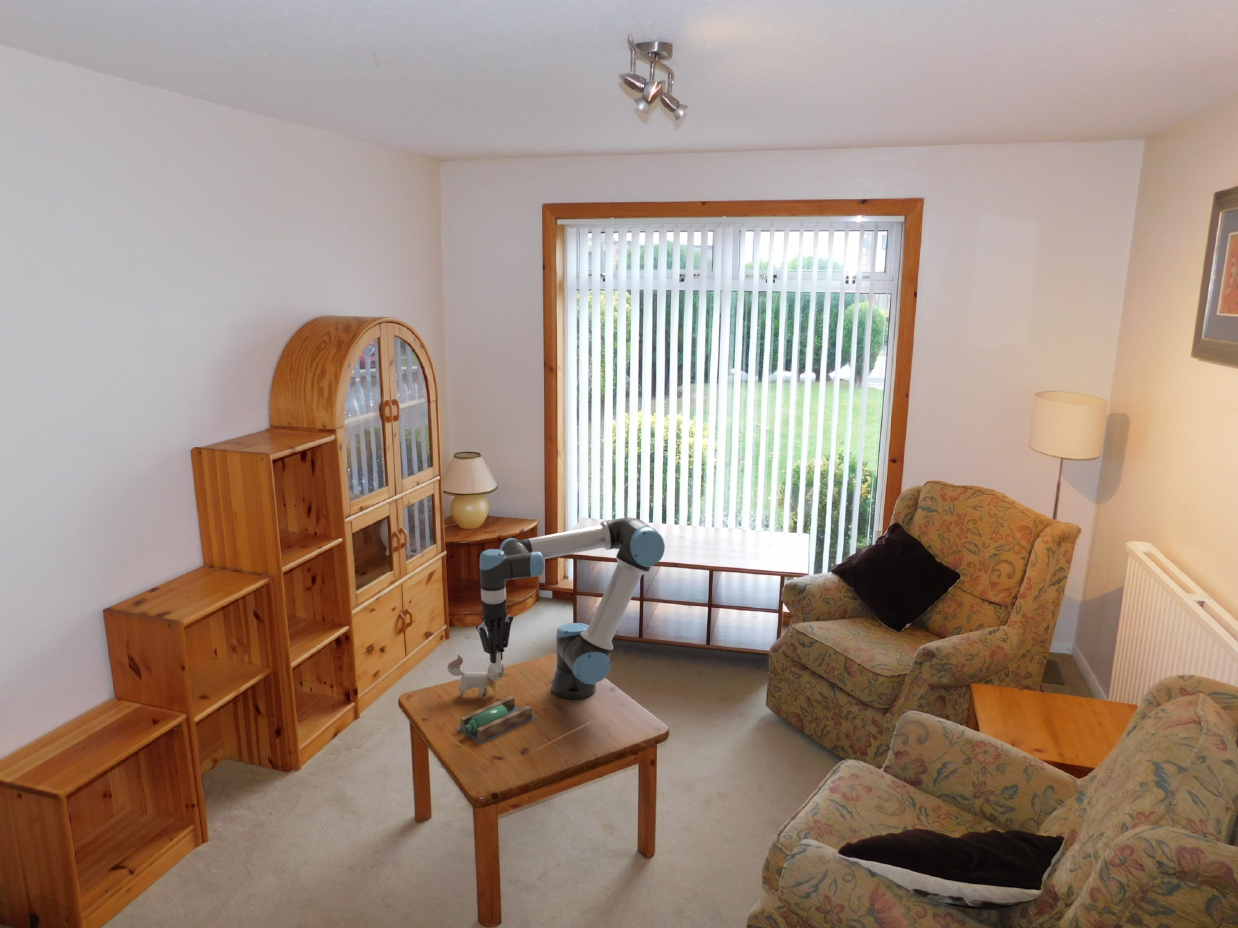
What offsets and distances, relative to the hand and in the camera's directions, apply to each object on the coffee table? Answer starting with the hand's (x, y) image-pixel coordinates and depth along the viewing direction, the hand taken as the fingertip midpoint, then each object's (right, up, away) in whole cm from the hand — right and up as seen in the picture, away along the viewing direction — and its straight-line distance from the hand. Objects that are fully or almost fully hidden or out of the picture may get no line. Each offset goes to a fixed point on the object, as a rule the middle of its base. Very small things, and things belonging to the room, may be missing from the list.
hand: (496, 670), depth 258 cm
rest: (-1, -18, +4) cm, 18 cm away
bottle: (+1, -14, +4) cm, 15 cm away
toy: (-10, -14, +21) cm, 27 cm away
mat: (-1, -18, +4) cm, 18 cm away
